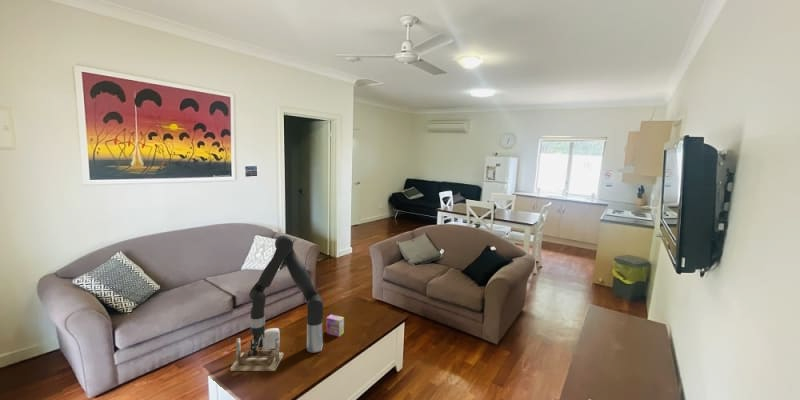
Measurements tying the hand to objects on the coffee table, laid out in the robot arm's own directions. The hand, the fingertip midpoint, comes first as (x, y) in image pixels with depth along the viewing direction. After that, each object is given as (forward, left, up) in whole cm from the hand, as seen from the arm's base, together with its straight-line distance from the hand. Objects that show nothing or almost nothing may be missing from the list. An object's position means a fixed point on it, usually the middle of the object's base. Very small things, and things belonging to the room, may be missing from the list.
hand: (257, 351), depth 185 cm
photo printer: (-2, -15, -7) cm, 17 cm away
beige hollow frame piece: (0, 0, -7) cm, 7 cm away
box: (-39, -32, -7) cm, 51 cm away
